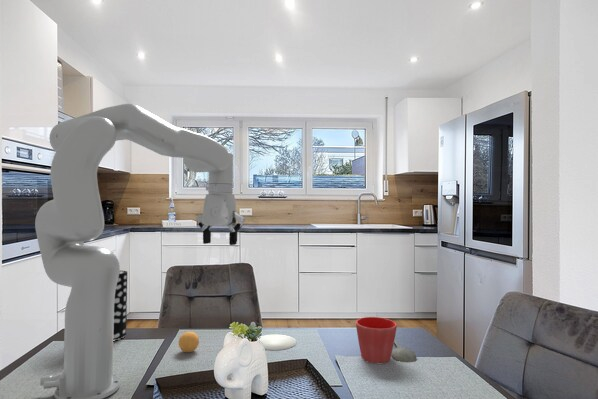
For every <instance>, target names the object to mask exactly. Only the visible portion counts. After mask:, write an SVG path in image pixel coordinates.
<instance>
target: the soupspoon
mask: <svg viewBox="0 0 598 399" xmlns="http://www.w3.org/2000/svg"><path fill="white" fill-rule="evenodd" d="M394 344H395V345H396V347H395V348H394V347H393V349H392V354H391V357H392V359H394V360H395V361H396V362H399V361H400V362H399V363H414V362H416V361H417V355H416V353H415V352H414V351H413V350H412V349H410V348H407V347H404V346H401V345H400V344H399V343H398V340H396V339H395V340H394Z"/></svg>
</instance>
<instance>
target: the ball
mask: <svg viewBox="0 0 598 399" xmlns="http://www.w3.org/2000/svg"><path fill="white" fill-rule="evenodd" d="M199 342H200V339H199V336H198V334H196V332H194V331H185V332H184V333H183V334H181V336H179V339H178V347H179V349H180V350H181V351H182V352H183V353H192V352H194V351H195V350H196V349H197V348H198V346H199V344H200V343H199Z"/></svg>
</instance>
